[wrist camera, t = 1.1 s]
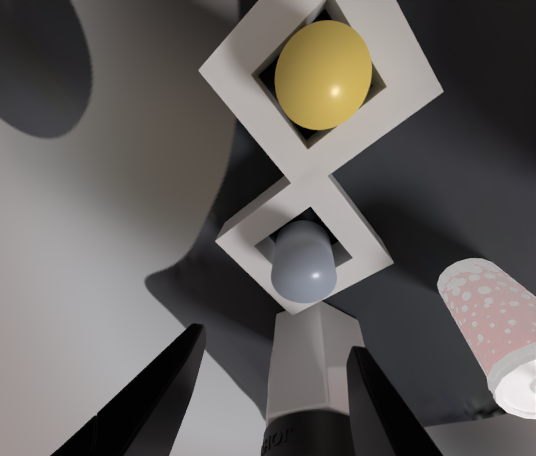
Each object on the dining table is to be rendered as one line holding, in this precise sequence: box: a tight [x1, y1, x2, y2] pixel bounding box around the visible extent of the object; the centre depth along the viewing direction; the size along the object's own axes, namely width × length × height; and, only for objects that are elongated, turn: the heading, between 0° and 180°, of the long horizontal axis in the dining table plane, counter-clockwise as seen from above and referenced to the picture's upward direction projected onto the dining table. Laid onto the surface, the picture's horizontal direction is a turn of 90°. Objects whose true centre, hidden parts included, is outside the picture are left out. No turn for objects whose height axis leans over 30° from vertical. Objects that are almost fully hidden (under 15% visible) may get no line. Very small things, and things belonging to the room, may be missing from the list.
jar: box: [261, 301, 365, 456], centre depth 22 cm, size 9×8×12 cm
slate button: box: [271, 220, 337, 303], centre depth 18 cm, size 4×4×4 cm
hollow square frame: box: [198, 0, 444, 195], centre depth 15 cm, size 9×9×3 cm
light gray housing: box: [215, 163, 394, 316], centre depth 20 cm, size 9×9×3 cm
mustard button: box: [275, 20, 372, 130], centre depth 13 cm, size 4×4×4 cm
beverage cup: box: [437, 258, 536, 419], centre depth 16 cm, size 6×6×14 cm
